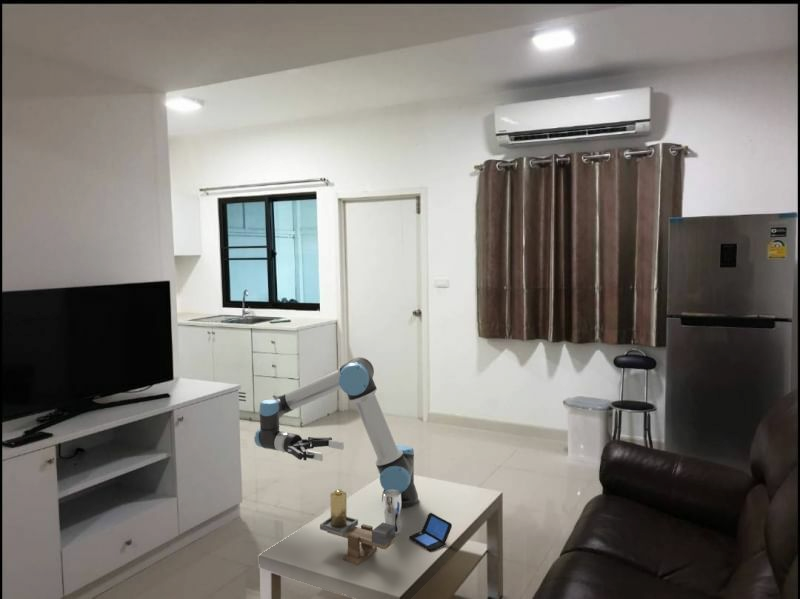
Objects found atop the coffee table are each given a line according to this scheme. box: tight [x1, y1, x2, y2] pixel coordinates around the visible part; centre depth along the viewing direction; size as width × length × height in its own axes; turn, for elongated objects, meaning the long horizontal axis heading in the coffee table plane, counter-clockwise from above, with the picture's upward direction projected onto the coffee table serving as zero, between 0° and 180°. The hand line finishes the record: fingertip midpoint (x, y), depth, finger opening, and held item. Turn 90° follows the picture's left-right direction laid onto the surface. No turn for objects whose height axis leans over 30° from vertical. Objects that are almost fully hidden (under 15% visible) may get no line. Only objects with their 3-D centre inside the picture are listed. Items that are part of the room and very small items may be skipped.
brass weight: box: [329, 489, 348, 528], centre depth 212 cm, size 6×6×12 cm
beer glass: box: [382, 489, 402, 536], centre depth 225 cm, size 7×7×15 cm
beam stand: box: [343, 523, 378, 565], centre depth 209 cm, size 12×6×8 cm, turn 150°
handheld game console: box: [408, 512, 453, 552], centre depth 218 cm, size 12×11×7 cm
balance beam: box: [319, 516, 396, 550], centre depth 209 cm, size 10×26×6 cm, turn 60°
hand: (332, 451), depth 227 cm, fingers open, 13 cm apart
